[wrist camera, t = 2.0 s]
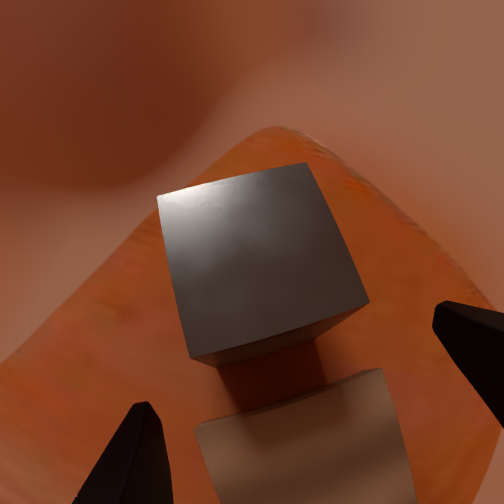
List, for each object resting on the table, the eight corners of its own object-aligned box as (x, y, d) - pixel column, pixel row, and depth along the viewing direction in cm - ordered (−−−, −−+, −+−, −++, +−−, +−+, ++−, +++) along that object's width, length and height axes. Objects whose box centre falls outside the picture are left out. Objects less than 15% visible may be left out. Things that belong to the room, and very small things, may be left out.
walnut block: (398, 496, 14) (418, 508, 11) (251, 550, 12) (253, 571, 10) (362, 370, 18) (381, 367, 15) (201, 422, 16) (193, 429, 14)
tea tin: (314, 338, 19) (369, 302, 10) (216, 368, 18) (190, 357, 9) (282, 250, 21) (306, 162, 13) (192, 274, 21) (156, 196, 12)
